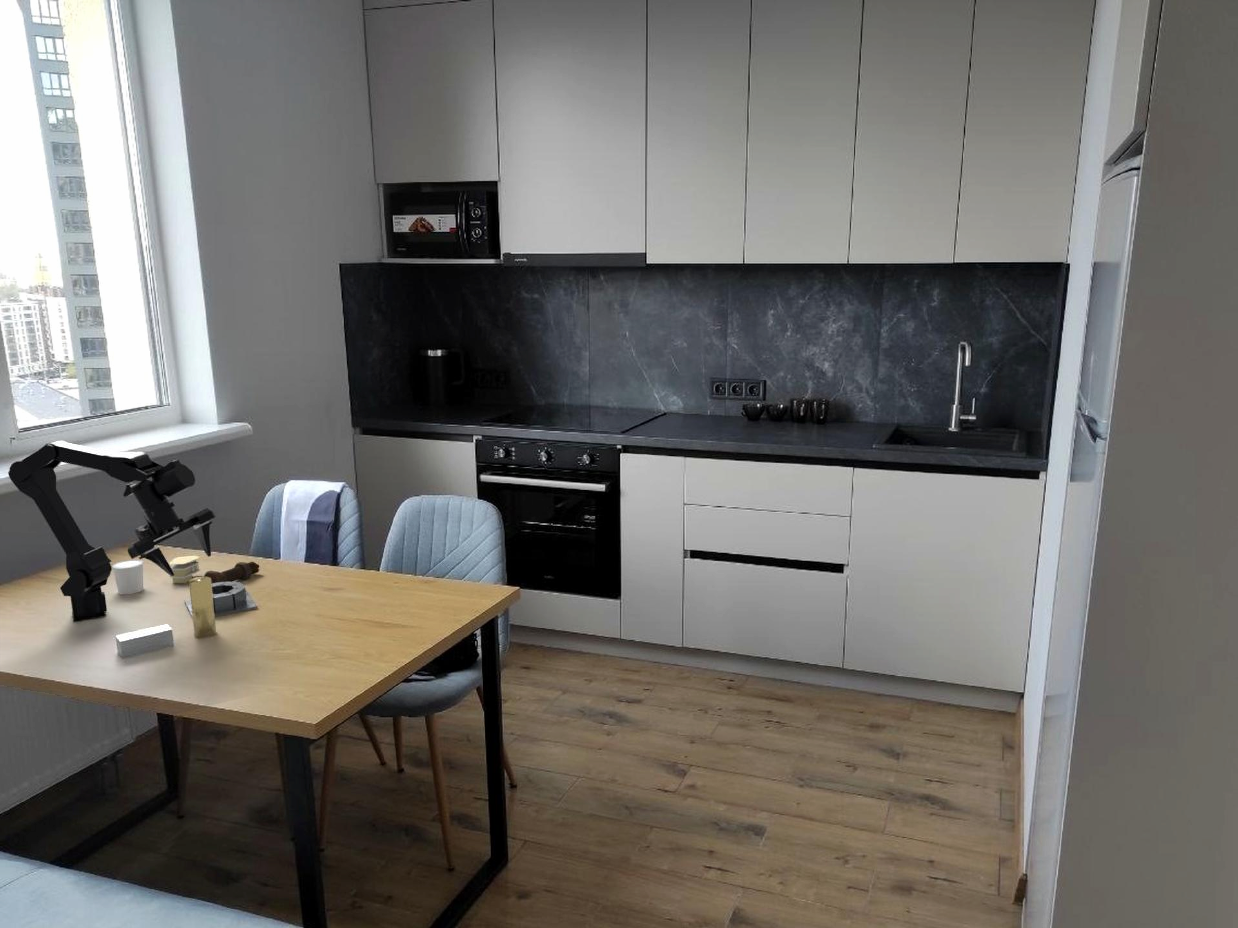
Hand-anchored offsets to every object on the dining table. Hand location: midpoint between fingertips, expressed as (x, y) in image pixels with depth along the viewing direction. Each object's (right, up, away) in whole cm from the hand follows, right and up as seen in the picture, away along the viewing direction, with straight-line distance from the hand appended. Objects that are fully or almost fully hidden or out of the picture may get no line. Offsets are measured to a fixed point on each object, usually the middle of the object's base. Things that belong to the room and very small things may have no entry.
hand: (191, 565), depth 210 cm
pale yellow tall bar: (+6, -14, -5) cm, 16 cm away
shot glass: (-26, -9, +23) cm, 35 cm away
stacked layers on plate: (-16, -7, +31) cm, 36 cm away
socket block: (+2, -11, +12) cm, 16 cm away
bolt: (-2, -8, +28) cm, 29 cm away
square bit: (-3, -16, -13) cm, 21 cm away
